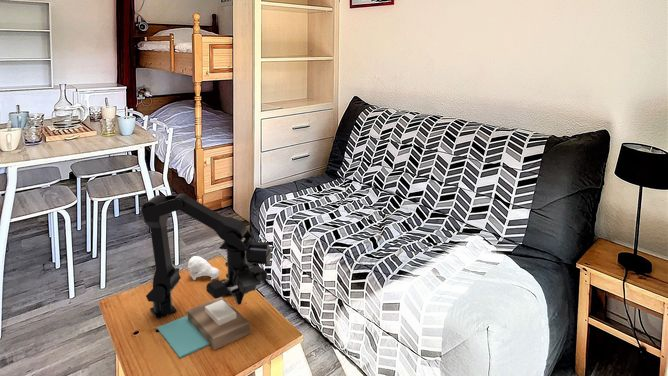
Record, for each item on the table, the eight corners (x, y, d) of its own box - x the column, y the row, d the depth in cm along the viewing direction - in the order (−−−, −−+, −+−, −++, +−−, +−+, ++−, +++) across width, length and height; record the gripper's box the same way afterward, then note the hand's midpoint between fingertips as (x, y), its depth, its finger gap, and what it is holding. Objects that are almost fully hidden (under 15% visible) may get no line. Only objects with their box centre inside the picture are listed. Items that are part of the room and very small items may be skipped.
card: (205, 311, 139) (204, 306, 138) (222, 304, 142) (222, 299, 142) (218, 325, 132) (218, 320, 132) (236, 318, 136) (236, 312, 135)
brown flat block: (188, 320, 140) (186, 310, 139) (222, 306, 148) (221, 296, 147) (214, 350, 128) (213, 338, 126) (250, 333, 135) (249, 322, 134)
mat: (157, 328, 136) (157, 327, 136) (188, 316, 143) (188, 315, 142) (180, 358, 124) (179, 356, 124) (212, 343, 131) (212, 341, 130)
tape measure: (237, 295, 155) (237, 286, 154) (217, 298, 153) (216, 289, 152) (235, 285, 161) (234, 276, 160) (215, 288, 159) (215, 279, 158)
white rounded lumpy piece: (193, 251, 166) (222, 258, 165) (193, 270, 169) (222, 277, 168) (185, 259, 161) (215, 266, 159) (185, 279, 163) (215, 285, 162)
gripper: (221, 281, 124) (224, 328, 129) (276, 261, 136) (277, 304, 141) (203, 266, 132) (207, 310, 137) (257, 248, 144) (258, 290, 149)
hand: (238, 304), depth 141 cm, fingers closed
